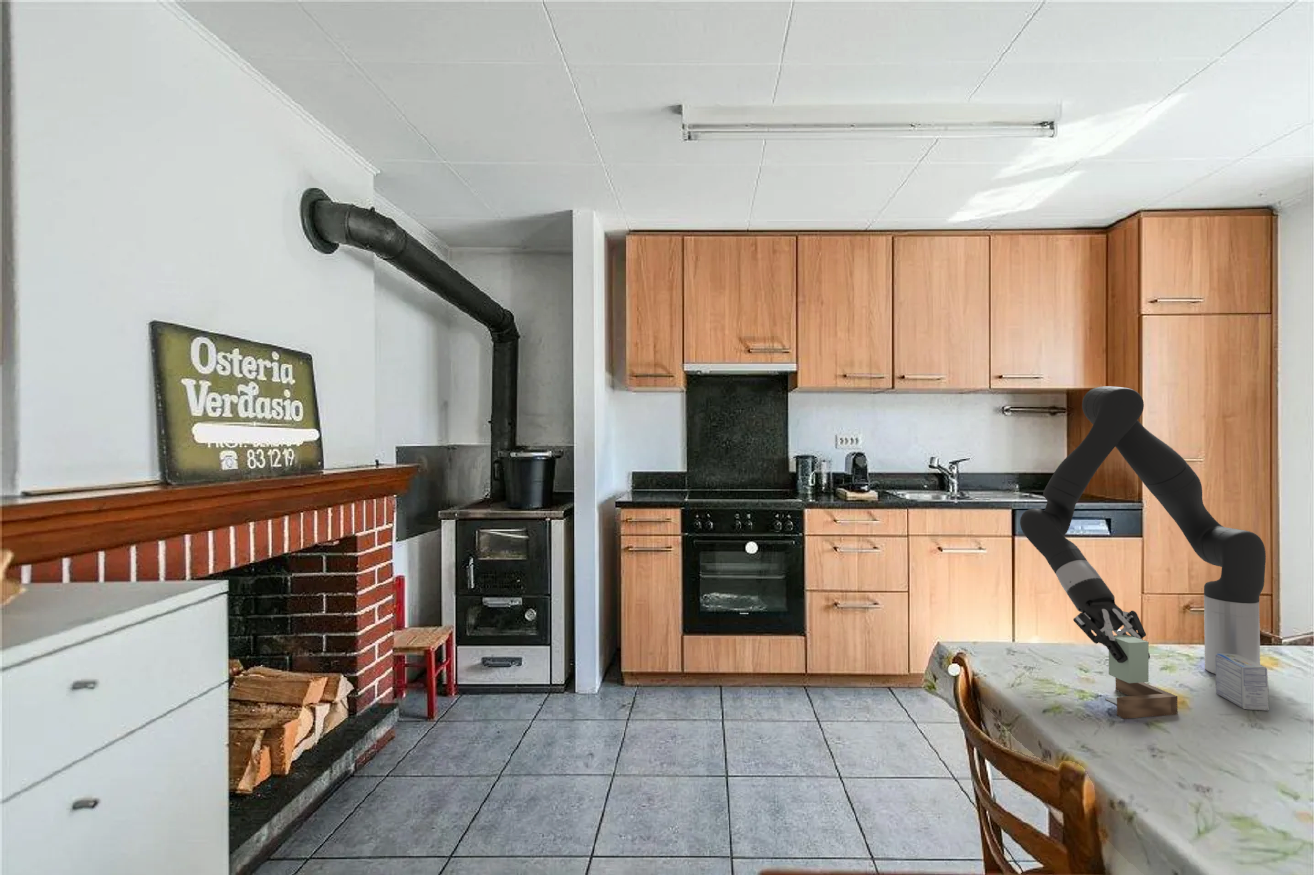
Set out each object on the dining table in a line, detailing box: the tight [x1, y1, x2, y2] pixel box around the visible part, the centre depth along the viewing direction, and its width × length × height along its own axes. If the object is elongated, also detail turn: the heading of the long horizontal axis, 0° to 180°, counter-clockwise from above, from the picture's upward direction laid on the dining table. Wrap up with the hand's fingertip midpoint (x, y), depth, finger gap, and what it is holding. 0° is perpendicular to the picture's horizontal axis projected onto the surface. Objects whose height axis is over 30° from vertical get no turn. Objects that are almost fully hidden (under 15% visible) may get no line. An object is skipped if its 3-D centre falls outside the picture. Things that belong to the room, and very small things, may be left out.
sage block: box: [1108, 634, 1150, 683], centre depth 122 cm, size 4×4×8 cm
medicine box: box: [1215, 654, 1270, 712], centre depth 123 cm, size 8×4×9 cm, turn 168°
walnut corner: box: [1105, 677, 1179, 720], centre depth 123 cm, size 12×12×4 cm
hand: (1134, 660), depth 121 cm, fingers closed on sage block, 4 cm apart
